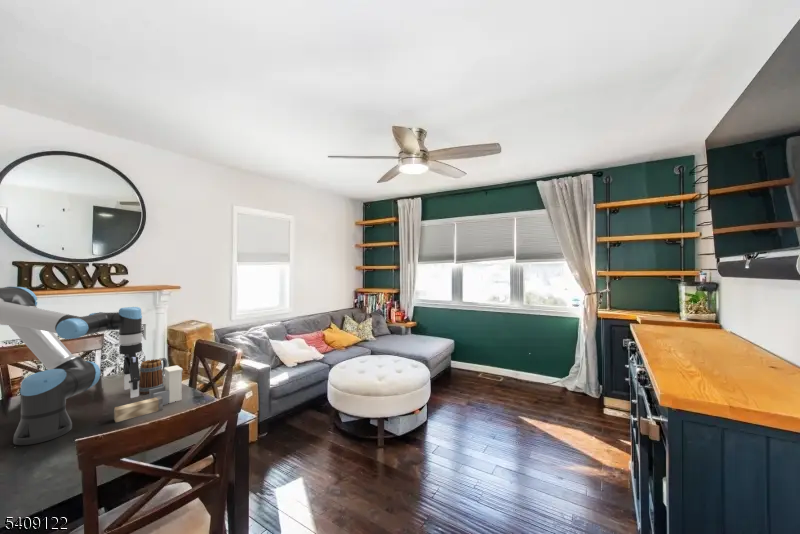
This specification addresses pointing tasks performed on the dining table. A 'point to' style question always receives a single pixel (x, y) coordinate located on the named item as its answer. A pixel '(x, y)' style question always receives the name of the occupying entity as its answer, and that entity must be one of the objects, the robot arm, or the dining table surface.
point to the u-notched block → (169, 386)
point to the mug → (151, 375)
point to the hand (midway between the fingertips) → (131, 392)
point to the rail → (138, 409)
